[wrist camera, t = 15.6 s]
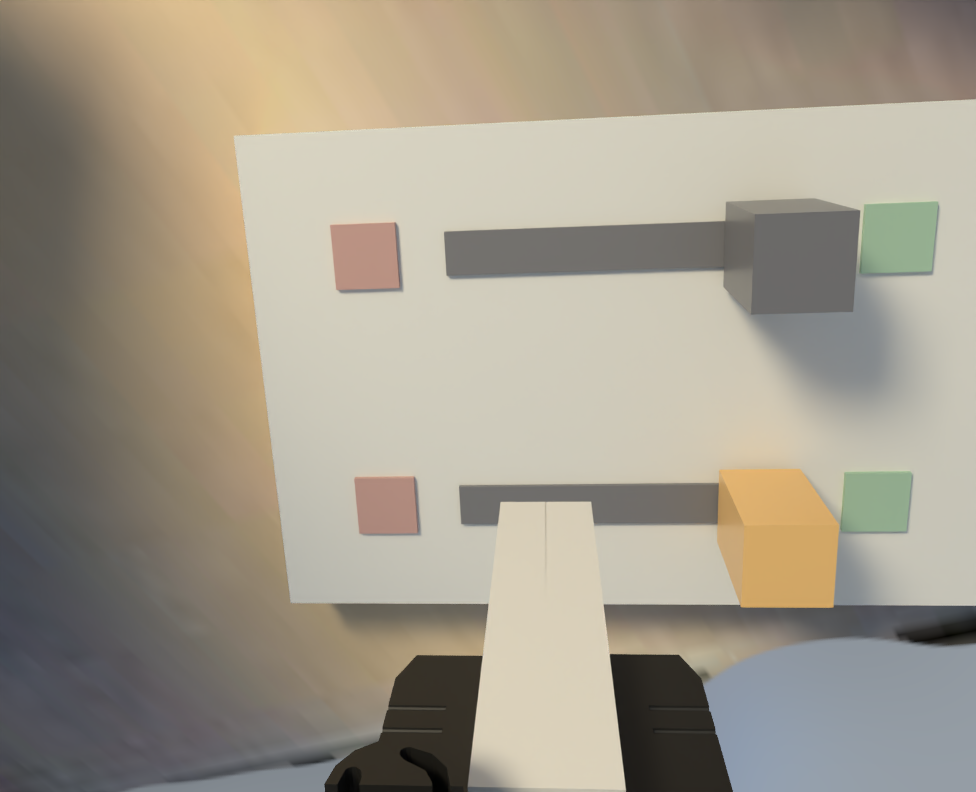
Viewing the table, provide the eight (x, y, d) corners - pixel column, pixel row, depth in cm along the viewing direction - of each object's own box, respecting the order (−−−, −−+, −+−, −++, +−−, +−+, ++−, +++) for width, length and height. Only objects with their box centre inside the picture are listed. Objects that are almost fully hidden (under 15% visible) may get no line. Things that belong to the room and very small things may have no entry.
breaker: (723, 287, 32) (750, 314, 27) (725, 201, 31) (754, 214, 26) (809, 284, 31) (853, 311, 26) (814, 198, 30) (860, 210, 26)
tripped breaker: (717, 541, 34) (741, 607, 30) (719, 469, 34) (744, 525, 29) (796, 541, 34) (833, 607, 29) (800, 468, 33) (839, 525, 28)
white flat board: (310, 569, 40) (289, 605, 37) (261, 135, 35) (231, 135, 32) (952, 569, 37) (986, 608, 34) (1006, 99, 32) (1052, 95, 29)
